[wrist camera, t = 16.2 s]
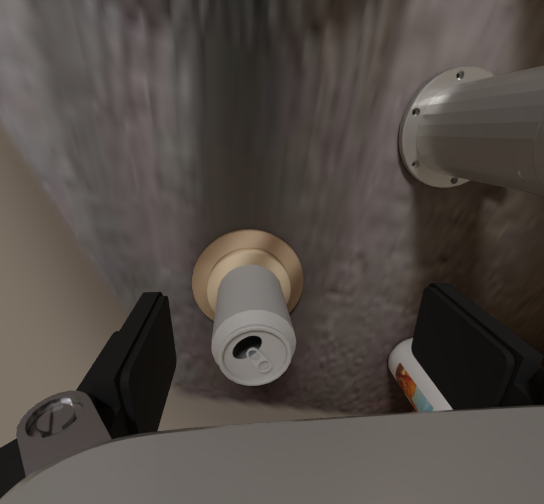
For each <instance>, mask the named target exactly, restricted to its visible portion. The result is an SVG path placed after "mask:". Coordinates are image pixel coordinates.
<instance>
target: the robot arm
mask: <svg viewBox="0 0 544 504" xmlns="http://www.w3.org/2000/svg"><path fill="white" fill-rule="evenodd" d="M412 111H413V112H414V113H413V115H412ZM399 150H400V155H401V159H402V161H403V164H404V166H405V167H406V169H407V170H408V172H409V173H410V174H411V175H412V176H413V177H414V178H415V179H416V180H418V181H420V182H422V183H423V184H426V185H429V186H433V187H439V188H450V187H455V186H459V185H462V184H464V183H466V182H469V181H476V182H481V183H486V184H490V185H495V186H500V187H504V188H509V189H514V190H519V191H523V192H528V193H533V194H537V195H542V196H544V66H539V67H535V68H530V69H525V70H521V71H516V72H511V73H507V74H502V75H497V76H495V75H494V74H493V73H491V72H490V71H488V70H486V69H483V68H480V67H474V66H464V67H457V68H453V69H450V70H447V71H445V72H442V73H440V74H438V75H436V76H435V77H433V78H432V79H430V80H429V81H428V82H426V83H425V84H424V85H423V86H422V87H421V88H420V89H419V90H418V91H417V93H416V94H415V95H414V97H413V98H412V100H411V101H410V103H409V105H408V106H407V108H406V110H405V112H404V115H403V118H402V121H401V124H400V131H399ZM412 163H413V165H412ZM411 351H412V354H413V356H414V357H415V359H416V360H417V362H418V363H419V364H420V366H421V367H422V368H423V370H424V371H425V372H426V374H427V375H428V376H429V378H430V379H431V381H432V382H433V383H434V385H435V386H436V387H437V389H438V390H439V391H440V393H441V394H442V395H443V397H444V398H445V400H446V401H447V402H448V404H449V405H450V406H451V408H452V409H453V410H442V411H425V412H409V413H393V414H378V415H363V416H348V417H333V418H318V419H305V420H291V421H277V422H262V423H248V424H234V425H221V426H209V427H194V428H184V429H175V430H166V431H157V430H158V427H159V423H160V420H161V416H162V413H163V409H164V406H165V402H166V399H167V396H168V392H169V389H170V386H171V382H172V379H173V375H174V372H175V368H176V351H175V344H174V337H173V329H172V322H171V315H170V308H169V300H168V297H167V296H163V295H162V293H161V292H145V293H143V294H142V296H141V297H140V299H139V300H138V302H137V304H136V305H135V307H134V308H133V310H132V312H131V313H130V315H129V317H128V318H127V320H126V321H125V323H124V325H123V326H122V328H121V329H120V331H116V332H114V333H113V335H112V336H111V337H110V339H109V340H108V342H107V344H106V345H105V347H104V348H103V350H102V351H101V353H100V354H99V356H98V357H97V359H96V361H95V362H94V364H93V365H92V367H91V368H90V370H89V371H88V373H87V374H86V376H85V378H84V379H83V381H82V382H81V384H80V385H79V387H78V388H77V390H76V391H66V392H61V393H57V394H55V395H52V396H50V397H48V398H46V399H44V400H42V401H41V402H39V403H38V404H36V405H35V406H34V407H32V408H31V409H30V410H29V411H28V412H27V413H26V414H25V415H24V416H23V418H22V419H21V420H20V422H19V424H18V426H17V432H16V436H17V439H15V440H13V441H12V442H10V443H8V444H6V445H5V446H3V447H1V448H0V504H544V368H542V367H541V366H540V364H541V362H542V359H543V357H544V356H543V355H541V354H540V353H539V352H537V351H536V350H535V349H533V348H532V347H531V346H530V345H528V344H527V343H526V342H524V341H523V340H522V339H520V338H519V337H518V336H516V335H515V334H514V333H513V332H511V331H510V330H509V329H507V328H506V327H505V326H503V325H502V324H501V323H499V322H498V321H497V320H496V319H494V318H493V317H492V316H490V315H489V314H488V313H486V312H485V311H484V310H482V309H481V308H480V307H479V306H477V305H476V304H475V303H473V302H472V301H471V300H469V299H468V298H467V297H465V296H464V295H463V294H462V293H460V292H459V291H458V290H456V289H455V288H454V287H452V286H451V285H450V284H448V283H431V284H429V286H428V287H426V288H425V289H424V291H423V295H422V300H421V304H420V309H419V313H418V318H417V322H416V327H415V331H414V336H413V340H412V345H411Z"/></svg>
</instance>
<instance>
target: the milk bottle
mask: <svg viewBox="0 0 544 504" xmlns="http://www.w3.org/2000/svg"><path fill="white" fill-rule="evenodd" d="M412 340H413V338H409V339H406V340H404V341H402V342H400V343H399V344H398V345H396V346H395V347H394V349H393V350H392V351H391V353H390V355H389V359H388V365H389V369H390V371H391V373H392V374H393V376H394V378H395V379H396V381H397V382H398V384H399V385H400V387H401V389H402V390H403V392H404V393H405V395H406V396H407V398H408V399H409V401H410V403H411V404H412V406H413V407H414V409H415V410H416V412H425V411H442V410H453V409H452V408H451V406H450V405H449V404H448V402H447V401H446V400H445V398H444V397H443V395H442V394H441V393H440V391H439V390H438V389H437V387H436V386H435V385H434V383H433V382H432V381H431V379H430V378H429V376H428V375H427V374H426V372H425V371H424V370H423V368H422V367H421V366H420V364H419V363H418V362H417V360H416V359H415V357H414V356H413V354H412V351H411V345H412Z"/></svg>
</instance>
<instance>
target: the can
mask: <svg viewBox="0 0 544 504" xmlns="http://www.w3.org/2000/svg"><path fill="white" fill-rule="evenodd" d="M295 346H296V338H295V334H294V330H293V327H292V323H291V320H290V316H289V313H288V309H287V306H286V302H285V299H284V295H283V291H282V288H281V284H280V281H279V280H278V278H277V277H276V275H275V274H274V273H273V272H271V271H270V270H269V269H267V268H265V267H262V266H259V265H243V266H239V267H236V268H234V269H233V270H231V271H230V272H228V273H227V274H226V275H225V276H224V278H223V279H222V280H221V282H220V285H219V288H218V293H217V302H216V310H215V319H214V327H213V335H212V354H213V356H214V359H215V361H216V363H217V364H218V365H219V366H220V369H221V371H222V372H223V373H224V374H225V376H226V377H227V378H228V379H230V380H232V381H234V382H236V383H238V384H242V385H246V386H259V385H263V384H266V383H270V382H272V381H273V380H275V379H277V378H279V377H280V376H281V375H282V374H283V373H284V372H285V371H286V370H287V368H288V366H289V364H290V362H291V358H292V356H293V354H294V352H295Z"/></svg>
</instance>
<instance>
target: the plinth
mask: <svg viewBox="0 0 544 504" xmlns="http://www.w3.org/2000/svg"><path fill="white" fill-rule="evenodd" d="M243 265H259V266H262V267H265V268H267V269H269V270H270V271H271V272H273V273H274V274H275V275H276V277H277V278H278V280H279V281H280V284H281V288H282V291H283V295H284V299H285V302H286V306H287V309H288V313H290V312H291V311H292V310H293V309H294V307H295V306H296V304H297V302H298V301H299V299H300V296H301V293H302V289H303V281H304V279H303V271H302V267H301V264H300V261H299V259H298V257H297V255H296V254H295V252H294V251H293V249H292V248H291V247H290V246H289V245H288V244H287V243H286V242H285V241H284V240H282V239H281V238H279V237H278V236H276V235H274V234H271V233H269V232H266V231H262V230H256V229H242V230H236V231H232V232H229V233H226V234H224V235H222V236H220V237H218V238H216V239H215V240H214V241H212V242H211V243H210V244H209V245H208V246H207V247H206V248H205V249H204V250H203V252H202V253H201V254H200V256H199V258H198V260H197V262H196V265H195V268H194V271H193V276H192V289H193V294H194V297H195V300H196V302H197V304H198V306H199V307H200V309H201V310H202V311H203V313H204V314H205V315H206V316H207V317H209V318H210V319H211V320H213V321H214V319H215V310H216V302H217V293H218V288H219V285H220V282H221V280H222V279H223V278H224V276H225V275H226V274H227V273H228V272H230V271H231V270H233V269H234V268H236V267H239V266H243Z"/></svg>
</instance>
